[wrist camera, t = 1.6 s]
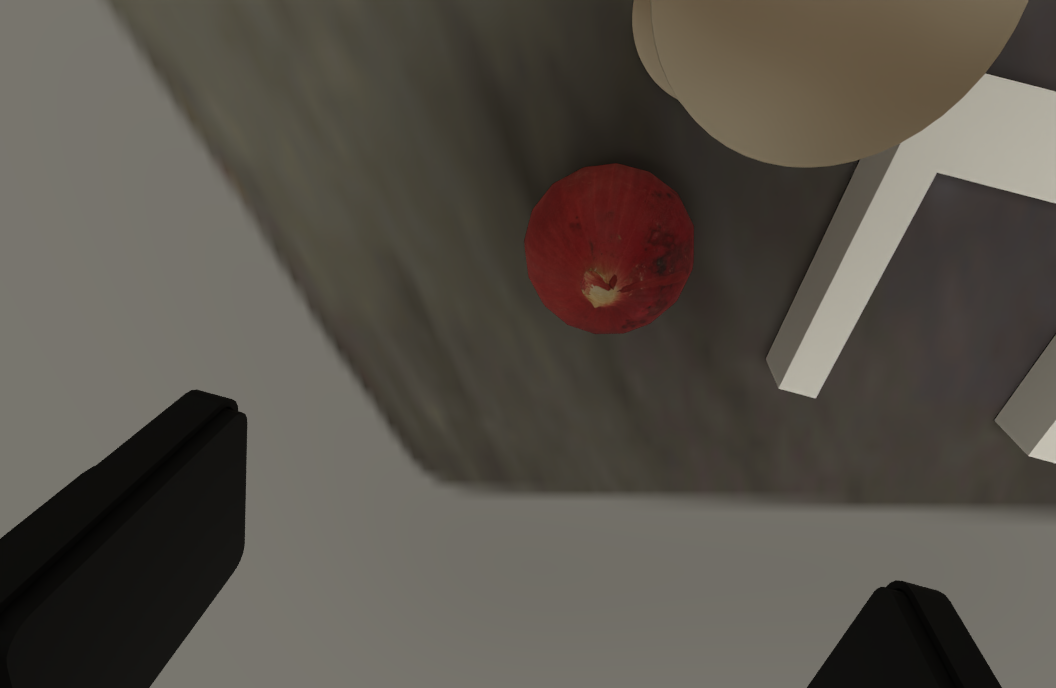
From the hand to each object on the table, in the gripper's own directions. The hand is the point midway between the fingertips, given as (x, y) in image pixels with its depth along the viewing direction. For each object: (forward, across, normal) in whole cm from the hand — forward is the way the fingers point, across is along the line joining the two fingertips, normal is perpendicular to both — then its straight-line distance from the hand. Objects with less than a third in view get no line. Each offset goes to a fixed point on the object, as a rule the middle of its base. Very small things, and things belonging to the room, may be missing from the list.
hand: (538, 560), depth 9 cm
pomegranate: (+18, -1, -1) cm, 18 cm away
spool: (+18, -2, -9) cm, 20 cm away
